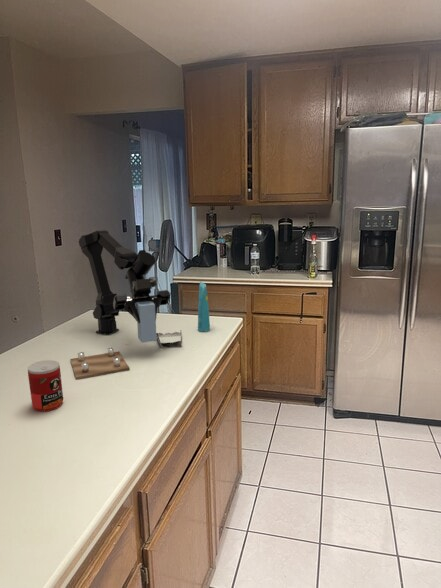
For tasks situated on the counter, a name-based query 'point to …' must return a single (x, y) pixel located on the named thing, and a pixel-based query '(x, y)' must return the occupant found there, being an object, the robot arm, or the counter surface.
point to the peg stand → (98, 364)
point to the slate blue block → (146, 321)
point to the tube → (203, 309)
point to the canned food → (45, 385)
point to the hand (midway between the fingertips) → (147, 321)
